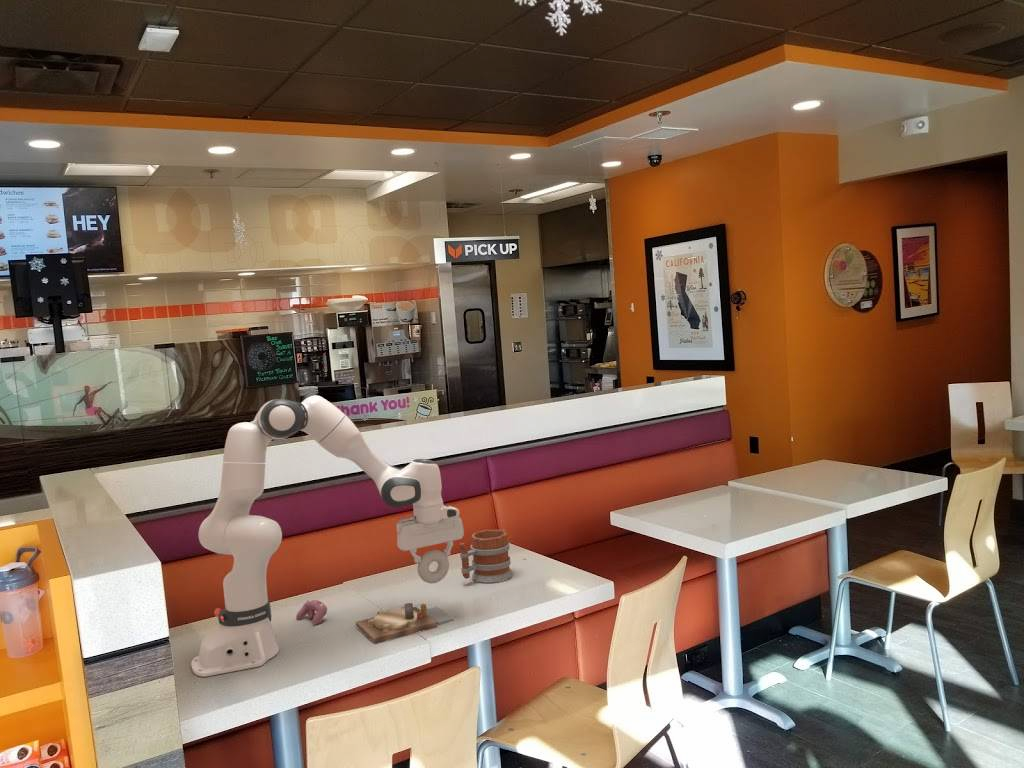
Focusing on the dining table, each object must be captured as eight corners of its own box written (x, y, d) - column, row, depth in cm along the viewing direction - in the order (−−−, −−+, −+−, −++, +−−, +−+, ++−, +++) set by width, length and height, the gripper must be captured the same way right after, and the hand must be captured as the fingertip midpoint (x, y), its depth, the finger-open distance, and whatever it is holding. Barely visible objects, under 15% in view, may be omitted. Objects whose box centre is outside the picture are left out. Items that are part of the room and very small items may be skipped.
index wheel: (402, 634, 223) (400, 614, 222) (357, 628, 230) (356, 609, 230) (432, 615, 236) (431, 596, 236) (390, 609, 244) (388, 591, 243)
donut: (421, 588, 235) (418, 555, 234) (416, 585, 238) (414, 552, 237) (452, 580, 240) (449, 548, 239) (447, 577, 243) (444, 545, 242)
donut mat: (438, 624, 233) (438, 622, 233) (421, 612, 244) (421, 610, 244) (454, 620, 235) (454, 618, 235) (436, 608, 247) (436, 606, 246)
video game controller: (324, 627, 241) (331, 604, 243) (312, 625, 238) (319, 601, 240) (306, 621, 248) (313, 598, 250) (294, 619, 245) (301, 595, 247)
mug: (521, 575, 272) (518, 532, 271) (476, 590, 260) (472, 545, 259) (495, 568, 283) (492, 526, 282) (451, 582, 271) (447, 538, 270)
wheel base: (374, 643, 222) (373, 628, 221) (356, 626, 236) (354, 611, 235) (437, 627, 231) (436, 611, 231) (416, 611, 245) (415, 597, 245)
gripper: (399, 521, 230) (403, 569, 231) (464, 509, 240) (467, 554, 241) (391, 517, 235) (395, 564, 236) (455, 505, 245) (458, 550, 246)
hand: (432, 559), depth 238 cm, fingers closed on donut, 8 cm apart
